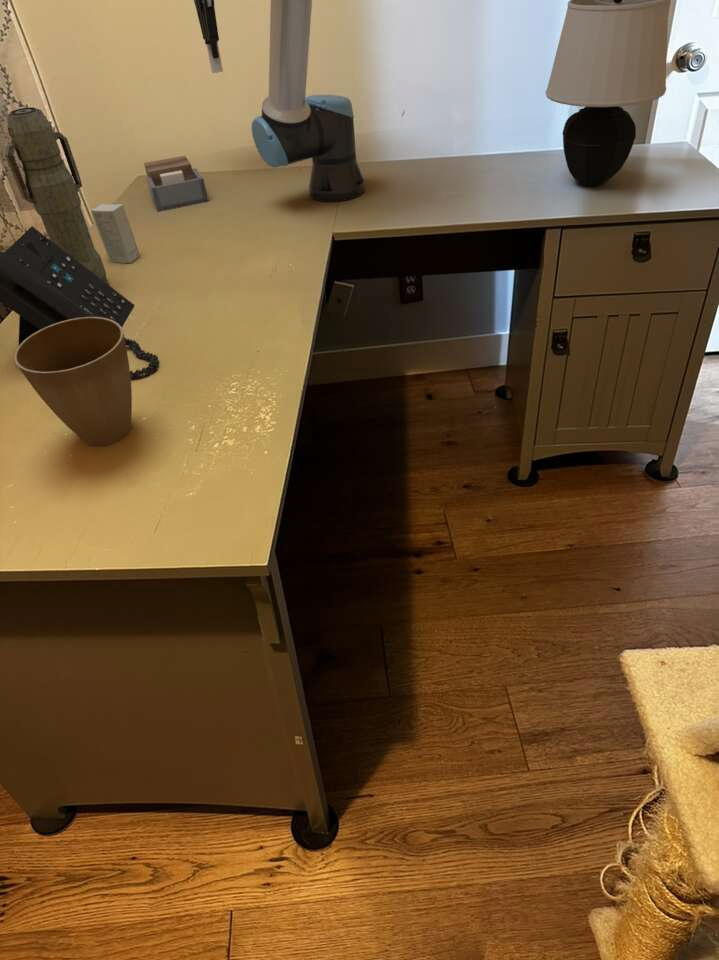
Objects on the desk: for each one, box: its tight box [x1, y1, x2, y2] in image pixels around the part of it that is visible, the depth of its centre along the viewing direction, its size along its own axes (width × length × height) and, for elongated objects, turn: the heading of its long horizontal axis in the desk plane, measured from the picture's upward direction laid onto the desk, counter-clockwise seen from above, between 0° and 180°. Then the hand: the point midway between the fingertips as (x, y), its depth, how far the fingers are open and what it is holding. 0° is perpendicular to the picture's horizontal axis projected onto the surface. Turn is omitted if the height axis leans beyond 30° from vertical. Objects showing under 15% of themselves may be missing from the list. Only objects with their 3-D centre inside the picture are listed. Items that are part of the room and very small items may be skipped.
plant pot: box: [13, 317, 133, 447], centre depth 98 cm, size 15×15×16 cm
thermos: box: [4, 106, 110, 286], centre depth 133 cm, size 9×12×35 cm
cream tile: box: [160, 170, 185, 185], centre depth 182 cm, size 6×6×2 cm
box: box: [146, 167, 209, 212], centre depth 182 cm, size 11×14×6 cm
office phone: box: [0, 225, 161, 380], centre depth 119 cm, size 29×28×20 cm
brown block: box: [143, 155, 194, 187], centre depth 190 cm, size 10×12×7 cm
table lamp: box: [545, 0, 670, 187], centre depth 156 cm, size 27×27×40 cm
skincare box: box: [90, 203, 141, 264], centre depth 151 cm, size 6×4×12 cm
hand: (217, 71), depth 177 cm, fingers closed
